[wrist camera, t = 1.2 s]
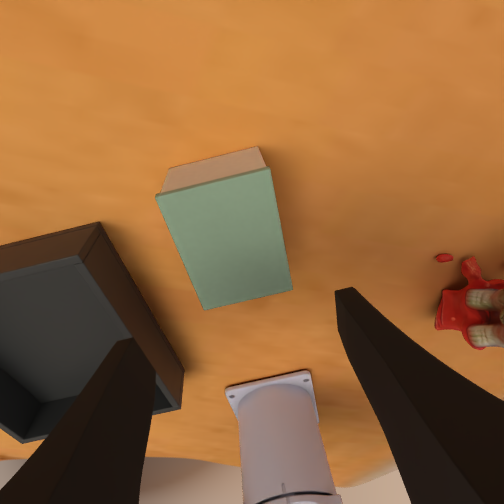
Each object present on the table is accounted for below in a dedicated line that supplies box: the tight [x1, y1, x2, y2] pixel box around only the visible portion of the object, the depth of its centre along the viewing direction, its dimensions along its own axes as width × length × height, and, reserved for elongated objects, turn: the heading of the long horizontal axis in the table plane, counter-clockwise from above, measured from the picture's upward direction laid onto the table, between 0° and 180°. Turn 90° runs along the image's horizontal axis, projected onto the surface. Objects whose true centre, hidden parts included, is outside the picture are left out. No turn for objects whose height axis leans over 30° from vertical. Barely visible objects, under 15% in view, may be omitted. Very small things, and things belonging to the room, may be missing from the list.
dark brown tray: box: [0, 222, 184, 444], centre depth 21 cm, size 15×13×4 cm
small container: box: [155, 146, 293, 310], centre depth 17 cm, size 7×5×4 cm
